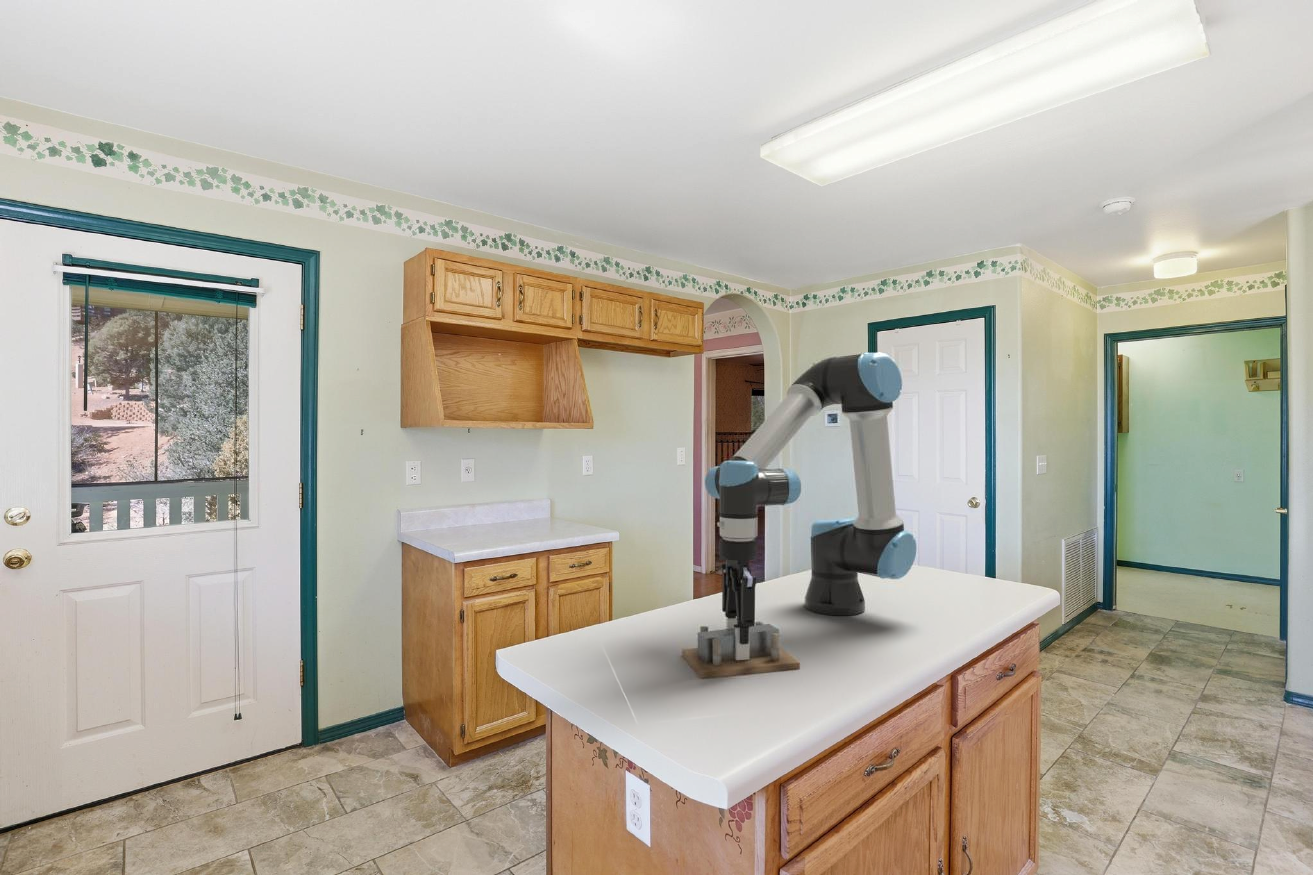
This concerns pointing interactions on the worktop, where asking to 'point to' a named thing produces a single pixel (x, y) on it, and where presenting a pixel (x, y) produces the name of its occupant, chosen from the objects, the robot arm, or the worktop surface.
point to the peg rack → (739, 667)
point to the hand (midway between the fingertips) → (737, 654)
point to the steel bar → (758, 643)
